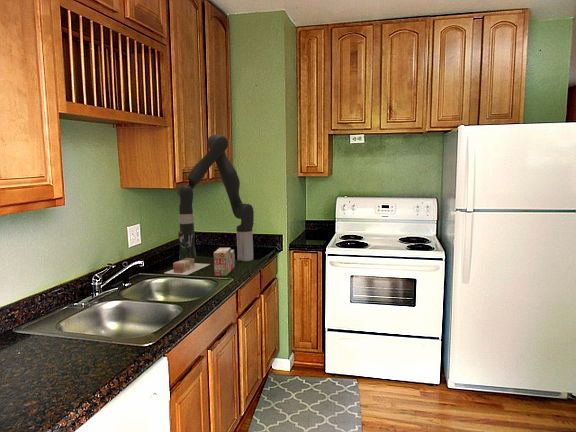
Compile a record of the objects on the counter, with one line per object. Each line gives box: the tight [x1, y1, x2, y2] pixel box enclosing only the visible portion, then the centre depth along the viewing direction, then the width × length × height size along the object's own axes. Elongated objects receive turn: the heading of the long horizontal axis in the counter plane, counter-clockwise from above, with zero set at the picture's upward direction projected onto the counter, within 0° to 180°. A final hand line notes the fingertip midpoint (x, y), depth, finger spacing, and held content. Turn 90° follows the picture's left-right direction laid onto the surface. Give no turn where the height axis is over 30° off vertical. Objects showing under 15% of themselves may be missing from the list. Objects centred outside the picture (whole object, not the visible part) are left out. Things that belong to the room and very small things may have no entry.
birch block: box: [172, 258, 195, 273], centre depth 230 cm, size 5×5×12 cm
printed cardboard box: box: [213, 247, 236, 277], centre depth 230 cm, size 21×6×12 cm, turn 175°
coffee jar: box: [177, 230, 198, 262], centre depth 254 cm, size 10×8×19 cm
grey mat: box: [164, 262, 211, 276], centre depth 234 cm, size 24×14×1 cm, turn 160°
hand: (188, 254), depth 234 cm, fingers closed
